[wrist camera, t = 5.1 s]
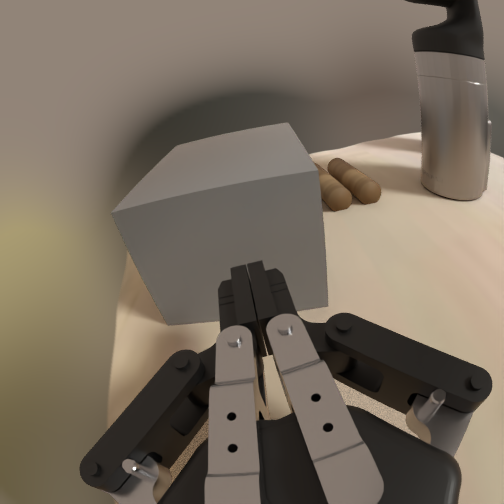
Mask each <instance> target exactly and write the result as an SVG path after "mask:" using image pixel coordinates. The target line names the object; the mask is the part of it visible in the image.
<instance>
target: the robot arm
mask: <svg viewBox="0 0 504 504" xmlns="http://www.w3.org/2000/svg"><path fill="white" fill-rule="evenodd" d="M405 1H408V2H413V3H419V4H428V5H435V6H442V7H446V9H447V20H446V21H444V22H442V23H440V24H438V25H434V26H429V27H425V28H421V29H418V30H416V31H414V32H413V34H412V42H413V48H414V52H415V53H414V54H415V61H416V69H417V76H418V86H419V96H420V111H421V136H422V161H421V183H422V184H423V186H424V187H426V188H427V189H428V190H430V191H432V192H434V193H436V194H438V195H441V196H444V197H448V198H452V199H458V200H473V199H477V198H479V197H481V195H482V192H483V191H484V190H486V189H487V182H488V173H489V163H490V151H491V150H490V149H491V126H492V124H491V121H490V120H488V96H487V95H488V94H487V79H486V69H485V61H484V51H483V27H482V22H481V16H480V11H479V7H478V2H477V0H405ZM247 267H248V271H247ZM247 267H246V264H244V265H240V266H236V267H232V268H230V271H231V279H229V280H225V281H222V282H221V284H220V286H219V288H218V299H219V300H218V302H219V317H220V334H219V335H218V337H217V340H216V343H215V344H214V345H213V346H212V347H210V348H209V349H207V350H205V351H203V352H201V353H199V354H197V353H196V352H194V351H192V350H181V351H178V352H176V353H174V354H173V355H172V356H171V357H170V358H169V359H168V360H167V361H166V362H165V364H164V365H163V366H162V367H161V368H160V370H159V371H158V372H157V373H156V374H155V375H154V377H153V378H152V379H151V380H150V381H149V382H148V384H147V385H146V386H145V387H144V388H143V389H142V391H141V392H140V393H139V394H138V395H137V396H136V398H135V399H134V400H133V401H132V402H131V403H130V405H129V406H128V407H127V408H126V409H125V410H124V412H123V413H122V414H121V415H120V416H119V417H118V419H117V420H116V421H115V422H114V423H113V424H112V426H111V427H110V428H109V429H108V430H107V431H106V433H105V434H104V435H103V436H102V437H101V438H100V440H99V441H98V442H97V443H96V444H95V445H94V447H93V448H92V449H91V450H90V451H89V452H88V453H87V455H86V456H85V457H84V458H83V460H82V461H81V464H80V475H81V477H82V479H83V481H84V482H85V483H86V484H88V485H90V486H92V487H95V488H97V489H100V490H102V491H103V492H106V493H108V494H110V495H111V496H112V497H113V498H114V499H115V500H116V501H117V502H118V503H119V504H458V499H459V492H460V487H461V470H460V467H459V464H458V463H457V461H456V460H455V458H454V455H455V453H456V451H457V449H458V447H459V445H460V443H461V441H462V438H463V436H464V434H465V432H466V429H467V427H468V424H469V422H470V419H471V417H472V414H473V412H474V411H475V410H476V409H477V408H478V407H479V406H480V405H481V404H482V402H483V401H484V400H485V399H486V398H487V397H488V396H489V394H490V393H491V390H492V379H491V376H490V375H489V373H488V372H487V371H486V370H485V369H483V368H481V367H479V366H476V365H474V364H471V363H469V362H466V361H464V360H461V359H459V358H456V357H454V356H451V355H449V354H446V353H444V352H441V351H439V350H436V349H434V348H432V347H429V346H427V345H424V344H422V343H419V342H417V341H415V340H412V339H410V338H407V337H405V336H403V335H400V334H398V333H395V332H393V331H391V330H388V329H386V328H384V327H381V326H379V325H377V324H374V323H372V322H369V321H367V320H365V319H362V318H360V317H358V316H355V315H353V314H350V313H339V314H336V315H334V316H332V317H330V318H329V319H328V321H327V322H326V323H311V322H307V321H305V320H303V319H302V318H300V317H299V315H298V314H297V311H296V309H295V306H294V303H293V300H292V297H291V295H290V292H289V290H288V286H287V283H286V281H285V278H284V275H283V273H282V272H280V271H279V270H278V269H277V268H274V269H270V270H266V271H265V268H264V265H263V261H262V260H260V261H256V262H252V263H248V264H247ZM248 272H249V275H248ZM249 277H250V278H249ZM263 337H264V339H263ZM264 341H265V344H266V348H267V351H268V355H273V358H274V361H275V365H276V369H277V372H278V375H279V378H280V381H281V384H282V387H283V390H284V393H285V396H286V399H287V402H288V405H289V408H290V411H291V414H289V415H287V416H285V417H283V418H281V419H278V420H271V419H270V415H269V410H268V401H267V391H266V382H265V373H264V364H263V359H262V357H265V356H267V353H266V348H265V344H264ZM333 378H334V379H336V380H338V381H340V382H341V383H343V384H345V385H347V386H349V387H351V388H353V389H355V390H357V391H359V392H361V393H363V394H365V395H367V396H369V397H371V398H373V399H375V400H377V401H379V402H381V403H383V404H385V405H387V406H389V407H391V408H393V409H395V410H397V411H399V412H401V413H404V414H406V424H407V426H408V428H409V429H410V430H411V431H412V432H414V433H415V434H416V435H417V436H418V437H419V438H420V439H418V438H416V437H414V436H412V435H410V434H408V433H406V432H405V431H403V430H401V429H399V428H397V427H395V426H393V425H391V424H389V423H387V422H386V421H384V420H382V419H380V418H378V417H376V416H375V415H373V414H371V413H369V412H368V411H366V410H363V409H361V408H358V407H354V406H349V405H346V404H345V402H344V400H343V398H342V396H341V394H340V392H339V390H338V387H337V385H336V383H335V381H334V379H333ZM208 418H209V431H208V438H207V439H206V440H205V441H204V442H202V444H201V445H200V446H199V447H198V448H197V449H196V451H195V452H194V454H193V455H192V456H191V458H190V459H189V461H188V462H187V464H186V465H185V466H184V468H183V469H182V471H181V472H180V473H179V475H178V476H177V477H176V479H175V480H174V482H173V483H172V484H171V481H172V476H171V472H170V470H169V469H170V468H171V466H172V465H173V464H174V463H175V461H176V460H177V459H178V457H179V456H180V455H181V454H182V452H183V451H184V450H185V448H186V447H187V446H188V445H189V443H190V442H191V441H192V439H193V438H194V437H195V435H196V434H197V433H198V431H199V430H200V429H201V427H202V426H203V425H204V423H205V422H206V420H207V419H208ZM170 485H171V486H170ZM169 486H170V487H169Z"/></svg>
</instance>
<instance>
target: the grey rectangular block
mask: <svg viewBox="0 0 504 504" xmlns="http://www.w3.org/2000/svg"><path fill="white" fill-rule="evenodd" d="M111 214H112V216H113V218H114V220H115V223H116V225H117V227H118V230H119V231H120V234H121V236H122V238H123V240H124V243H125V245H126V247H127V249H128V251H129V253H130V255H131V257H132V259H133V261H134V263H135V265H136V267H137V269H138V271H139V273H140V275H141V277H142V279H143V281H144V283H145V285H146V287H147V289H148V291H149V292H150V294H151V296H152V298H153V300H154V302H155V304H156V305H157V307H158V309H159V311H160V312H161V314H162V316H163V318H164V319H165V321H166V323H167V325H181V324H193V323H204V322H214V321H220V317H219V302H218V300H219V299H218V288H219V286H220V284H221V282H222V281H225V280H229V279H231V271H230V268H232V267H236V266H240V265H244V264H246V267H247V264H248V263H252V262H256V261H260V260H262V261H263V265H264V268H265V271H266V270H270V269H274V268H277V269H278V270H279V271H280V272H282V273H283V275H284V278H285V281H286V283H287V286H288V290H289V292H290V295H291V297H292V300H293V303H294V306H295V309H296V311H302V310H308V309H315V308H321V307H327V306H328V287H327V266H326V249H325V235H324V222H323V211H322V200H321V190H320V181H319V172H318V169H317V167H316V166H315V164H314V162H313V161H312V159H311V157H310V156H309V154H308V153H307V151H306V150H305V148H304V146H303V145H302V143H301V142H300V140H299V139H298V137H297V135H296V134H295V132H294V131H293V130H292V128H291V126H290V125H289V123H282V124H276V125H269V126H264V127H259V128H253V129H247V130H242V131H237V132H232V133H227V134H223V135H218V136H214V137H209V138H205V139H202V140H197V141H194V142H189V143H185V144H181V145H178V146H176V147H175V148H174V149H173V150H172V151H171V152H170V153H168V154H167V155H166V156H165V157H164V158H163V159H162V160H161V161H160V162H159V163H158V164H157V165H156V166H155V167H154V168H153V169H152V170H151V171H150V172H149V173H148V174H147V175H146V176H145V177H144V178H143V179H142V180H141V181H140V182H139V183H138V184H137V185H136V186H135V187H134V188H133V189H132V190H131V192H130V193H128V195H127V196H126V197H125V198H124V199H123V200H122V201H121V202H120V203H119V204H118V205H117V206H116V208H115V209H114V210H113V211H112V212H111ZM247 271H248V267H247ZM248 275H249V272H248ZM249 278H250V277H249Z"/></svg>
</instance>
